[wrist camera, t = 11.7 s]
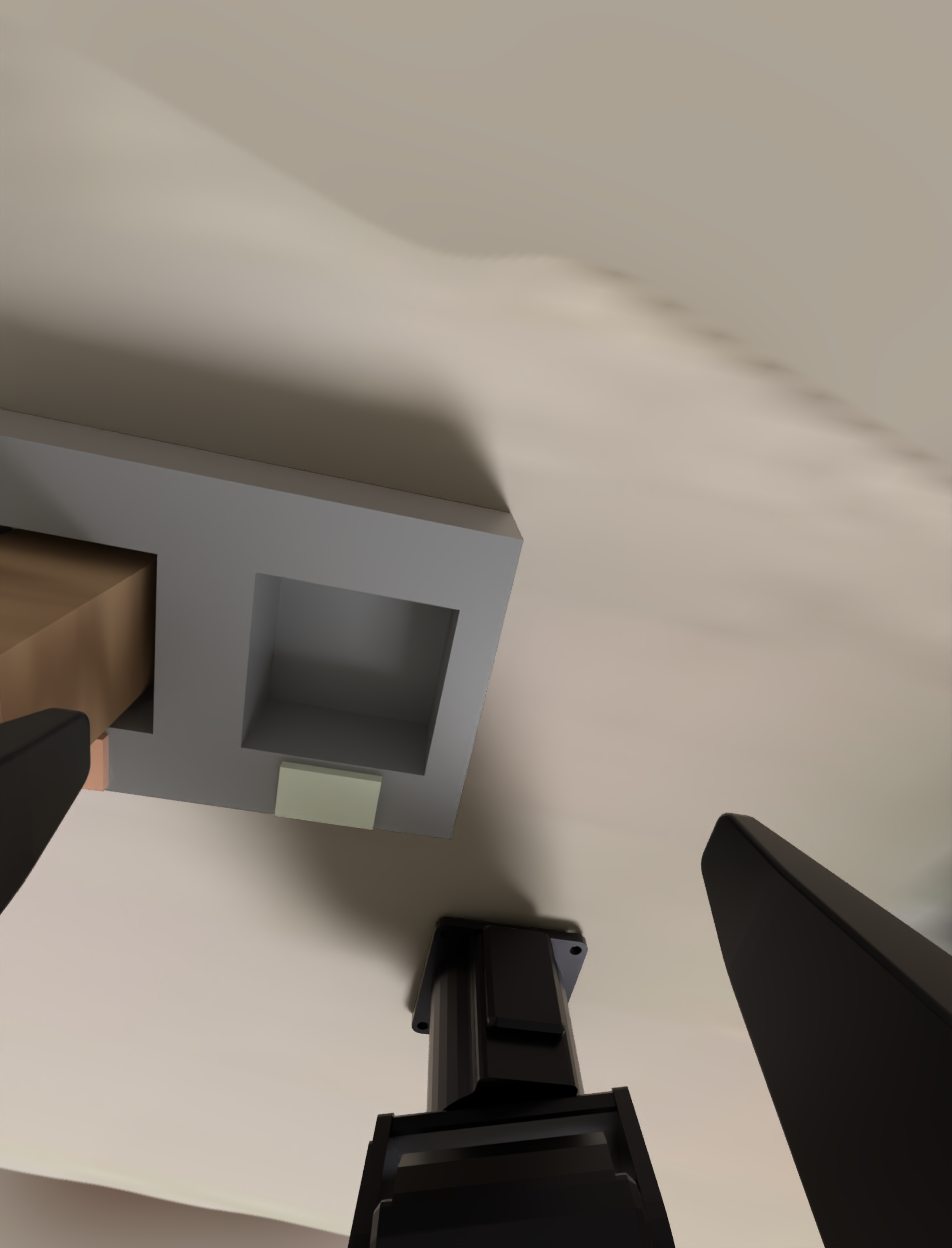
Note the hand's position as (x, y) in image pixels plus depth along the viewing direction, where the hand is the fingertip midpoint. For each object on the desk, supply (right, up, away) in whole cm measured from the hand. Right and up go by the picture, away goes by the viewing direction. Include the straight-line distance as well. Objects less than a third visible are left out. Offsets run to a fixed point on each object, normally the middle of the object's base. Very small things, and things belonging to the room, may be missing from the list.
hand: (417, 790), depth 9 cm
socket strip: (-7, +3, +12) cm, 14 cm away
